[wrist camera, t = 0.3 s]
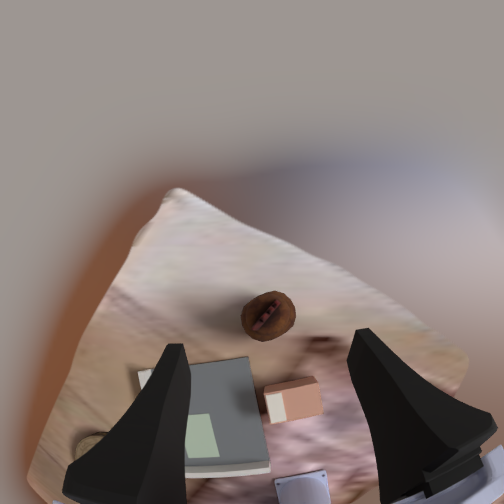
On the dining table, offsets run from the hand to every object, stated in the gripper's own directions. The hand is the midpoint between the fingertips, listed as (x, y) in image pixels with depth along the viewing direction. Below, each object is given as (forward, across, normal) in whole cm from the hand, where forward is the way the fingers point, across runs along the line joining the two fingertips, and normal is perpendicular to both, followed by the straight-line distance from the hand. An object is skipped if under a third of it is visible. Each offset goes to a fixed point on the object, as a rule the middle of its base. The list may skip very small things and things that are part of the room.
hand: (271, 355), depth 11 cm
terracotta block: (+15, -5, +27) cm, 31 cm away
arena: (+13, +7, +30) cm, 34 cm away
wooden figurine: (+23, -3, +19) cm, 30 cm away
